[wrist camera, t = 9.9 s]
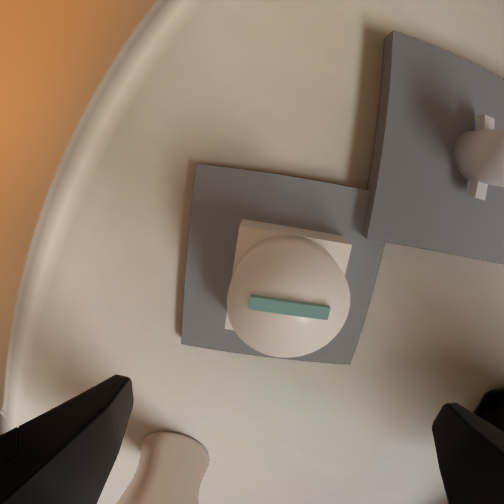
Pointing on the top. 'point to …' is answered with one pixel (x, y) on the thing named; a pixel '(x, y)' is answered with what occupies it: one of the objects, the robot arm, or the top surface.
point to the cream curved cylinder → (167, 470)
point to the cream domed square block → (287, 288)
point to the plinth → (437, 153)
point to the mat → (225, 240)
